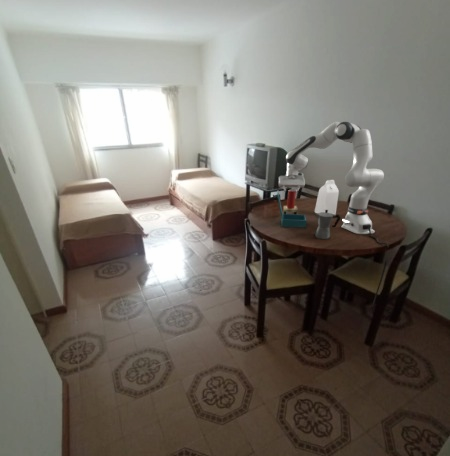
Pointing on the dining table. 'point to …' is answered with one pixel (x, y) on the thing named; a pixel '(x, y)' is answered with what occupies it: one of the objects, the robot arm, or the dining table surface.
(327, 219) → the coffeepot
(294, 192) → the can
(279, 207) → the lid
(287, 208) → the stool
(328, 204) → the milk
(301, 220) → the teal open box
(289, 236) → the dining table surface
